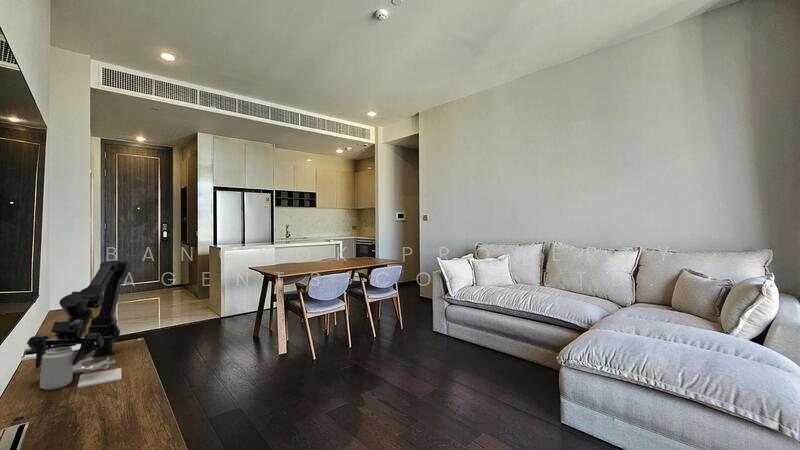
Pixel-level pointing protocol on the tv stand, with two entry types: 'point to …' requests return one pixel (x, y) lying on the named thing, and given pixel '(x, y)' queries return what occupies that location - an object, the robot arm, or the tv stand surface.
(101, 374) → the pad
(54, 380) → the can
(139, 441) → the tv stand surface
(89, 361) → the sprocket
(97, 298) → the robot arm
